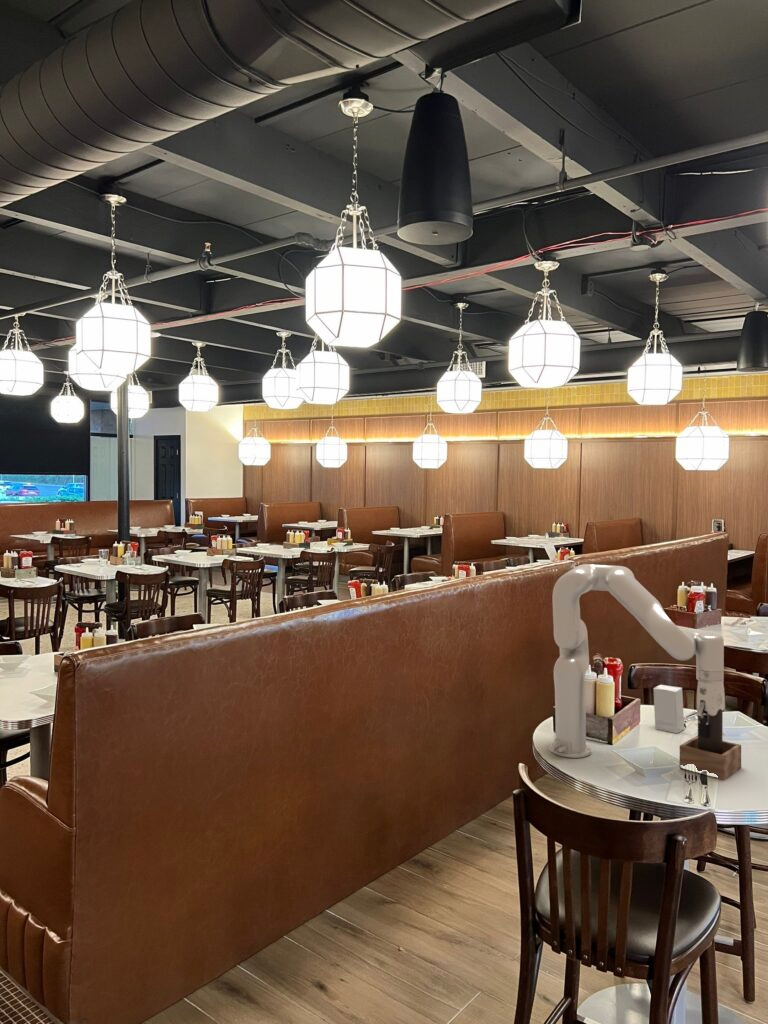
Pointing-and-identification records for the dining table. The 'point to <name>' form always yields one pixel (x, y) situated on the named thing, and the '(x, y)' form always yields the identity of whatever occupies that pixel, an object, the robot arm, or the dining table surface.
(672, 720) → the skincare box
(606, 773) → the dining table surface
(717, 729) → the vinegar
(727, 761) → the caddy
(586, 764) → the dining table surface
